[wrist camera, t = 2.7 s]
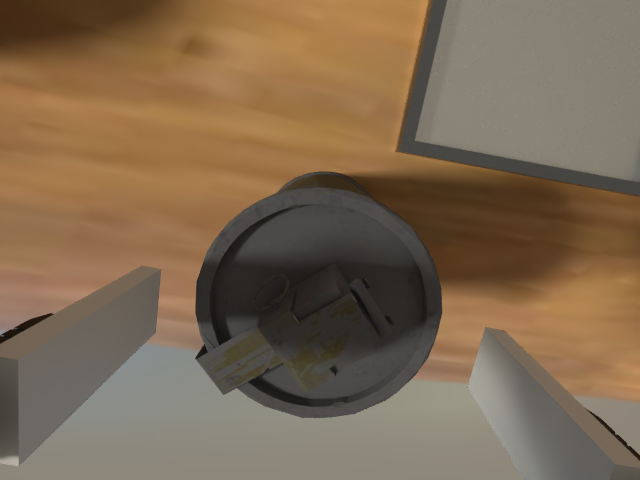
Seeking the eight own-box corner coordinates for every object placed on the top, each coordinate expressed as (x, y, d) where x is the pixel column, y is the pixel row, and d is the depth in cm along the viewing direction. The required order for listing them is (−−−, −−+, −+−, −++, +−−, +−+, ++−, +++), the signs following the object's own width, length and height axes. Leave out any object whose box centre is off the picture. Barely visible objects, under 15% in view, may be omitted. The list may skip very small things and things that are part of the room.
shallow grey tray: (395, 151, 30) (399, 151, 28) (464, -163, 25) (474, -188, 24) (645, 198, 31) (665, 200, 29) (759, -101, 26) (793, -121, 24)
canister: (341, 147, 30) (370, 128, 11) (402, 249, 32) (519, 388, 13) (237, 215, 32) (95, 305, 12) (300, 308, 34) (265, 515, 14)
